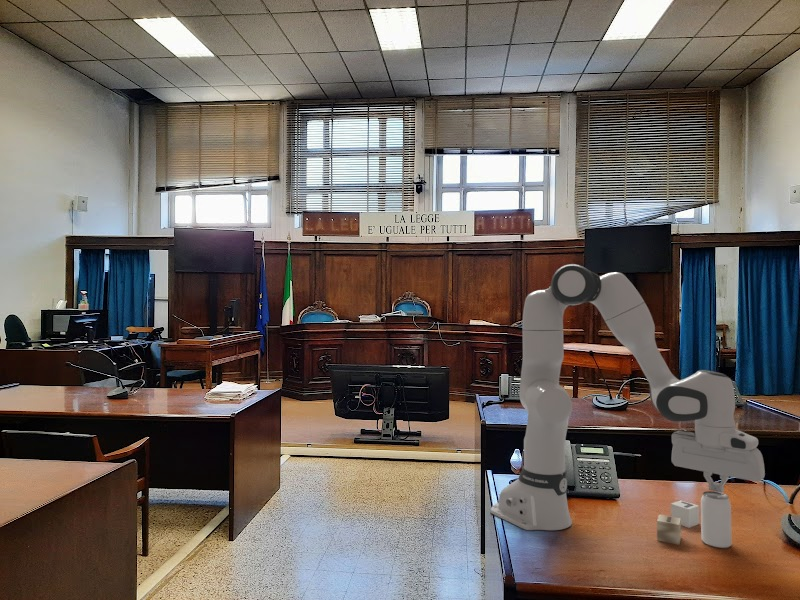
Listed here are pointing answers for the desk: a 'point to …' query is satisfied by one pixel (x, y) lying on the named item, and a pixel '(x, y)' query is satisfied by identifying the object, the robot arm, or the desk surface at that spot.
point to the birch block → (669, 529)
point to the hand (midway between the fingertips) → (716, 490)
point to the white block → (685, 513)
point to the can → (716, 519)
